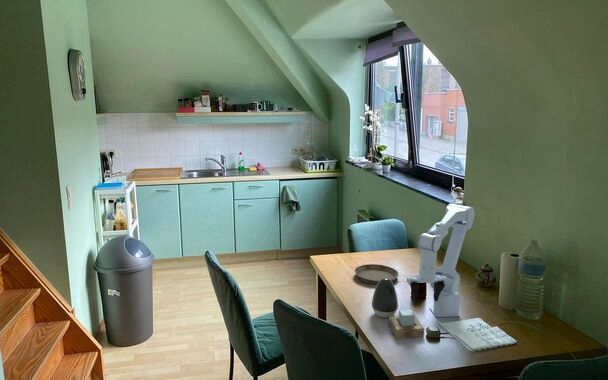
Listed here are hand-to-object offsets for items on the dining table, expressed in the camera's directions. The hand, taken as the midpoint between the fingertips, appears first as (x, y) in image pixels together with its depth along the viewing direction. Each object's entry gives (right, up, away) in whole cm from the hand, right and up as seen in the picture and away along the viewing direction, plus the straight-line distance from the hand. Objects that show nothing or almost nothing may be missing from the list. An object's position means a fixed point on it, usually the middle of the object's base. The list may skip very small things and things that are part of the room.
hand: (425, 300), depth 170 cm
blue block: (-8, -9, -2) cm, 12 cm away
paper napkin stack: (+18, -12, -3) cm, 22 cm away
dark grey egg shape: (-13, -9, +11) cm, 19 cm away
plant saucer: (-11, -1, +48) cm, 49 cm away
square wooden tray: (-8, -11, -1) cm, 13 cm away
